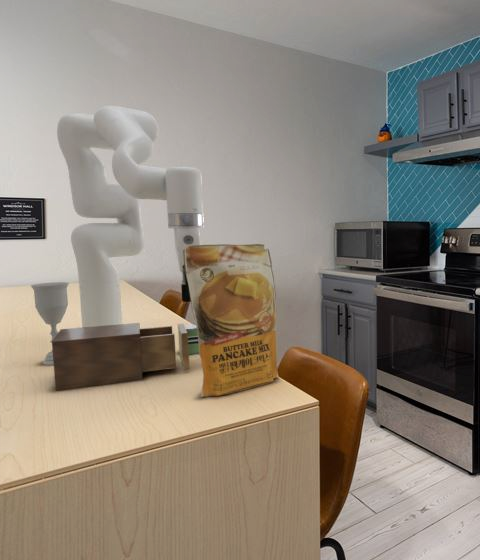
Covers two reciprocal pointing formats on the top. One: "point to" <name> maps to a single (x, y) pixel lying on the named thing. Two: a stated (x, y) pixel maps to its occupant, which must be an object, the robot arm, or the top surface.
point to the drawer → (164, 348)
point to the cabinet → (97, 355)
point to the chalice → (51, 307)
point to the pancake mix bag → (233, 315)
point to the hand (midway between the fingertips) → (189, 300)
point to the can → (192, 332)
